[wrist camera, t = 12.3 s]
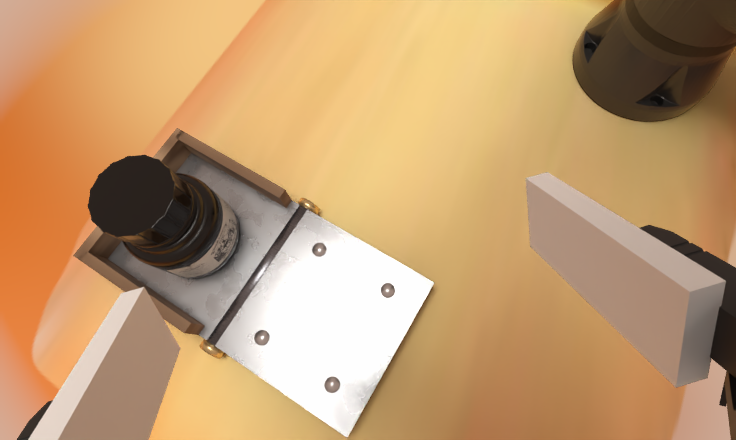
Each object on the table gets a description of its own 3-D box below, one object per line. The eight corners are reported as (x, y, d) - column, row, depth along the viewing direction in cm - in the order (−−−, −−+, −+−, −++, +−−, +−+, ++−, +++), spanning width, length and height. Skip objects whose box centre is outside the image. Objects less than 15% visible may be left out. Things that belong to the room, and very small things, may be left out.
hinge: (204, 146, 50) (193, 134, 47) (436, 279, 44) (439, 274, 41) (103, 274, 46) (86, 268, 43) (344, 442, 39) (341, 448, 37)
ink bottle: (210, 297, 42) (142, 274, 30) (138, 262, 43) (47, 228, 32) (258, 212, 44) (211, 161, 33) (188, 181, 46) (120, 123, 35)
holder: (190, 141, 47) (177, 128, 45) (291, 200, 45) (284, 189, 42) (94, 262, 44) (73, 255, 41) (198, 334, 41) (184, 332, 38)
